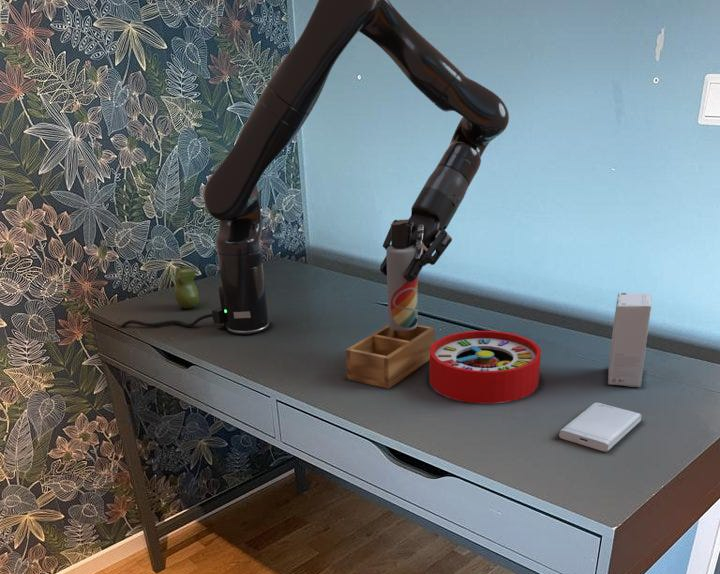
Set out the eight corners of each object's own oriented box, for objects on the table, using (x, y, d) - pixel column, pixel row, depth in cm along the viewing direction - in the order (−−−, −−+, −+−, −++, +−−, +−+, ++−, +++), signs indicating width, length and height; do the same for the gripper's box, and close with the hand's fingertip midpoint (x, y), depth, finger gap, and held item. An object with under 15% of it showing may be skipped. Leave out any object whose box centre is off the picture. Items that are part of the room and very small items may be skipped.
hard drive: (594, 401, 130) (559, 428, 122) (642, 413, 125) (608, 443, 117) (593, 410, 131) (558, 438, 123) (640, 423, 126) (607, 452, 118)
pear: (192, 302, 189) (186, 261, 184) (205, 307, 186) (199, 265, 180) (173, 308, 185) (166, 267, 180) (186, 313, 182) (179, 271, 177)
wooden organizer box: (347, 379, 146) (345, 349, 143) (395, 348, 158) (394, 320, 155) (388, 389, 141) (388, 358, 138) (434, 356, 154) (435, 327, 150)
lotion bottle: (415, 332, 146) (414, 224, 136) (386, 331, 147) (383, 224, 137) (419, 321, 151) (419, 216, 140) (391, 320, 152) (388, 216, 142)
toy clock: (564, 358, 135) (464, 381, 129) (560, 389, 138) (463, 412, 132) (502, 323, 151) (410, 342, 145) (500, 352, 154) (411, 371, 148)
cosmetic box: (640, 388, 137) (653, 307, 129) (605, 385, 139) (616, 305, 131) (641, 369, 144) (653, 291, 136) (607, 367, 146) (617, 290, 138)
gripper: (402, 181, 145) (358, 258, 145) (460, 190, 136) (412, 273, 135) (422, 205, 151) (379, 279, 150) (478, 215, 141) (433, 295, 141)
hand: (395, 276), depth 143 cm, fingers closed on lotion bottle, 5 cm apart
